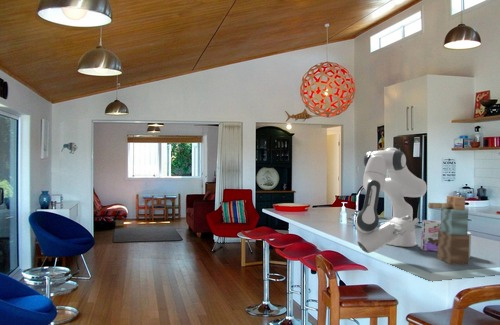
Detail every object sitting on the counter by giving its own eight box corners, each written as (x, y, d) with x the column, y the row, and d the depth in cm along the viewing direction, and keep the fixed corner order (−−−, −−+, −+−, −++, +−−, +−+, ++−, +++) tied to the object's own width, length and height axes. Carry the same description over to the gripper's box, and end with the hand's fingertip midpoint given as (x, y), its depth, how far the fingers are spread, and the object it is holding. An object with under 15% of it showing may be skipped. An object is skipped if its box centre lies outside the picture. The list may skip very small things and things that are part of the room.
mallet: (425, 207, 240) (426, 195, 240) (455, 208, 242) (456, 196, 242) (433, 209, 232) (433, 196, 232) (464, 210, 234) (465, 197, 234)
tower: (437, 258, 244) (439, 207, 243) (454, 258, 245) (456, 207, 244) (450, 264, 231) (452, 210, 231) (468, 264, 232) (470, 210, 231)
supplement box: (470, 258, 246) (471, 233, 246) (454, 256, 249) (455, 232, 249) (469, 255, 253) (470, 231, 253) (454, 254, 256) (455, 230, 256)
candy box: (422, 251, 262) (423, 220, 262) (420, 248, 268) (421, 219, 268) (449, 252, 260) (450, 222, 260) (446, 250, 266) (447, 220, 266)
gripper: (395, 229, 224) (420, 215, 225) (379, 223, 244) (402, 209, 245) (401, 241, 224) (426, 227, 225) (384, 233, 245) (407, 220, 246)
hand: (413, 218), depth 236 cm, fingers open, 8 cm apart
